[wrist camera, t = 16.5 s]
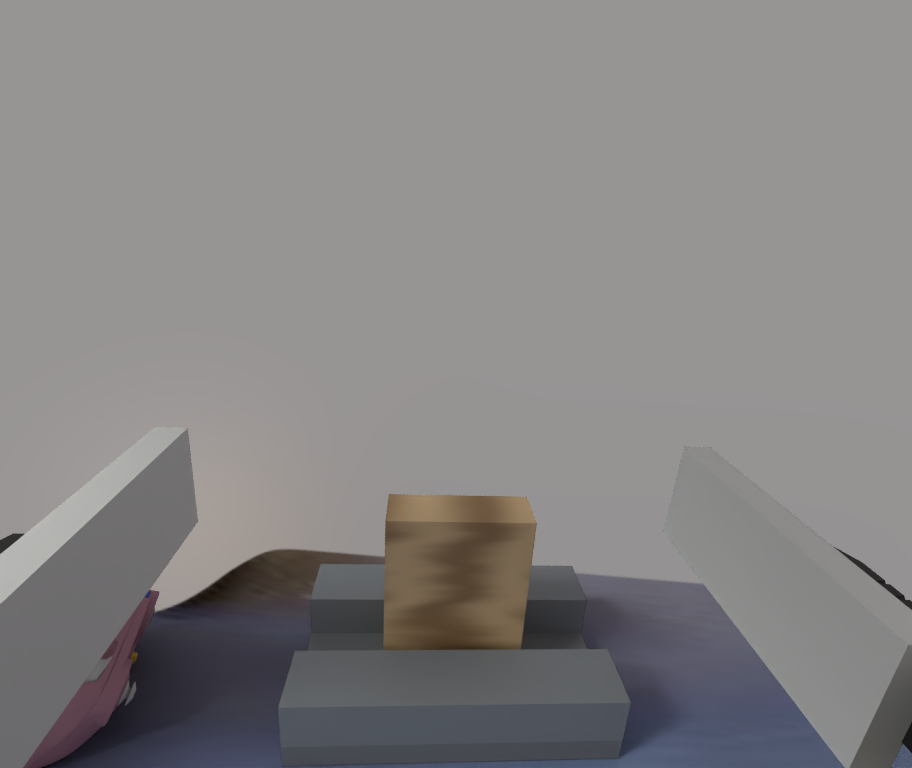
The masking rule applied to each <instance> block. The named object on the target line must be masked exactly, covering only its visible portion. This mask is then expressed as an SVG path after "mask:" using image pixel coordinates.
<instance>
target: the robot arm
mask: <svg viewBox="0 0 912 768" xmlns="http://www.w3.org/2000/svg"><path fill="white" fill-rule="evenodd" d="M197 522H198V518H197V509H196V500H195V490H194V482H193V472H192V463H191V454H190V445H189V437H188V428H175V427H155V428H154V429H152V430H151V431H150V432H149V433H147V434H146V435H145V436H144V437H143V438H141V439H140V440H139V441H138V442H137V443H135V444H134V445H133V446H132V447H130V448H129V449H128V450H127V451H126V452H124V453H123V454H122V455H121V456H119V458H117V459H116V460H115V461H113V462H112V463H111V464H110V465H108V466H107V467H106V468H105V469H104V470H102V471H101V472H100V473H99V474H98V475H96V476H95V477H94V478H93V479H91V480H90V481H89V482H88V483H87V484H85V485H84V486H83V487H82V488H81V489H79V490H78V491H77V492H76V493H74V494H73V495H72V496H71V497H69V498H68V499H67V500H66V501H65V502H63V503H62V504H61V505H60V506H59V507H57V508H56V509H55V510H54V511H52V512H51V513H50V514H49V515H48V516H46V517H45V518H44V519H43V520H42V521H40V522H39V523H38V524H37V525H35V526H34V527H33V528H32V529H30V530H29V531H28V532H27V533H26V534H12V535H10V536H8V537H6V538H4V539H2V540H0V768H23V767H24V766H25V764H26V763H27V761H28V760H29V759H30V757H31V756H32V754H33V753H34V752H35V750H36V749H37V747H38V746H39V745H40V743H41V742H42V740H43V739H44V738H45V736H46V735H47V733H48V732H49V730H50V729H51V728H52V726H53V725H54V723H55V722H56V721H57V719H58V718H59V716H60V715H61V714H62V712H63V711H64V709H65V708H66V707H67V705H68V704H69V702H70V701H71V699H72V698H73V697H74V695H75V694H76V692H77V691H78V690H79V688H80V687H81V685H82V684H83V683H84V681H85V680H86V678H87V677H88V676H89V674H90V673H91V671H92V670H93V669H94V667H95V666H96V664H97V663H98V661H99V660H100V659H101V657H102V656H103V654H104V653H105V652H106V650H107V649H108V647H109V646H110V645H111V643H112V642H113V640H114V639H115V638H116V636H117V635H118V633H119V632H120V630H121V629H122V628H123V626H124V625H125V623H126V622H127V621H128V619H129V618H130V616H131V615H132V614H133V612H134V611H135V609H136V608H137V607H138V605H139V604H140V602H141V601H142V600H143V598H144V597H145V595H146V594H147V592H148V591H149V590H150V588H151V587H152V585H153V584H154V582H155V581H156V580H157V578H158V577H159V576H160V574H161V573H162V571H163V570H164V569H165V567H166V566H167V564H168V563H169V561H170V560H171V558H172V557H173V556H174V554H175V553H176V552H177V550H178V549H179V547H180V546H181V545H182V543H183V542H184V540H185V539H186V538H187V536H188V535H189V533H190V532H191V531H192V529H193V527H194V526H195V525H196V523H197ZM663 531H664V533H665V534H666V535H667V537H668V538H669V539H670V541H671V542H672V543H673V545H674V546H675V547H676V548H677V550H678V551H679V552H680V554H681V555H682V556H683V557H684V559H685V560H686V561H687V563H688V564H689V565H690V567H691V568H692V569H693V571H694V572H695V573H696V574H697V576H698V577H699V578H700V580H701V581H702V582H703V584H704V585H705V586H706V588H707V589H708V590H709V592H710V593H711V594H712V595H713V597H714V598H715V599H716V601H717V602H718V603H719V605H720V606H721V607H722V608H723V610H724V611H725V612H726V614H727V615H728V616H729V618H730V619H731V620H732V622H733V623H734V624H735V625H736V627H737V628H738V629H739V631H740V632H741V633H742V635H743V636H744V637H745V638H746V640H747V641H748V642H749V644H750V645H751V646H752V648H753V649H754V650H755V652H756V653H757V654H758V655H759V657H760V658H761V659H762V661H763V662H764V663H765V665H766V666H767V667H768V669H769V670H770V671H771V672H772V674H773V675H774V676H775V678H776V679H777V680H778V682H779V683H780V684H781V685H782V687H783V688H784V689H785V691H786V692H787V693H788V695H789V696H790V697H791V699H792V700H793V701H794V702H795V704H796V705H797V706H798V708H799V709H800V710H801V712H802V713H803V714H804V715H805V717H806V718H807V719H808V721H809V722H810V723H811V725H812V726H813V727H814V729H815V730H816V731H817V732H818V734H819V735H820V736H821V738H822V739H823V740H824V742H825V743H826V744H827V745H828V747H829V748H830V749H831V751H832V752H833V753H834V755H835V756H836V757H837V759H838V760H839V761H840V762H841V764H842V765H843V766H844V768H891V766H892V764H893V762H894V760H895V758H896V756H897V755H898V753H899V751H900V749H901V747H902V745H903V744H904V745H905V746H906V747H907V748H908V749H909V750H910V752H911V753H912V602H911V601H910V600H905V598H904V595H903V594H901V593H900V592H899V591H897V590H896V589H895V588H894V587H892V586H891V585H889V584H886V583H885V580H884V579H882V578H881V577H880V576H879V575H877V574H876V573H875V572H873V571H872V570H871V569H870V568H868V567H867V566H866V565H865V564H863V563H862V562H860V561H859V560H857V559H855V558H853V557H851V556H849V555H848V554H846V553H844V552H842V551H841V550H839V549H837V548H835V547H833V546H832V545H830V544H829V543H828V542H827V541H826V540H824V539H823V538H822V537H821V536H819V535H818V534H817V533H816V532H814V531H813V530H812V529H811V528H809V527H808V526H807V525H805V523H803V522H802V521H801V520H799V519H798V518H797V517H796V516H795V515H793V514H792V513H791V512H789V511H788V510H787V509H786V508H785V507H783V506H782V505H781V504H780V503H779V502H777V501H776V500H775V499H773V498H772V497H771V496H770V495H769V494H767V493H766V492H765V491H764V490H762V489H761V488H760V487H759V486H757V485H756V484H755V483H754V482H752V481H751V480H750V479H749V478H748V477H746V476H745V475H744V474H742V473H741V472H740V471H739V470H738V469H736V468H735V467H734V466H733V465H731V464H730V463H729V462H728V461H726V460H725V459H724V458H723V457H722V456H720V455H719V454H718V453H717V452H715V451H714V450H713V449H712V448H710V447H684V449H683V453H682V458H681V461H680V465H679V470H678V474H677V478H676V482H675V486H674V490H673V494H672V498H671V502H670V506H669V510H668V514H667V518H666V522H665V526H664V530H663Z"/></svg>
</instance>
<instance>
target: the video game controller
mask: <svg viewBox="0 0 912 768" xmlns="http://www.w3.org/2000/svg"><path fill="white" fill-rule="evenodd" d="M158 596H159V592H158V591H152V590H149V591H148V592H147V594H146V595H145V597H144V598H143V600H142V601H141V602H140V604H139V605H138V607H137V608H136V609H135V611H134V612H133V614H132V615H131V616H130V618H129V619H128V621H127V622H126V623H125V625H124V626H123V628H122V629H121V630H120V632H119V633H118V635H117V636H116V638H115V639H114V640H113V642H112V643H111V645H110V646H109V647H108V649H107V650H106V652H105V653H104V654H103V656H102V657H101V659H100V660H99V661H98V663H97V664H96V666H95V667H94V669H93V670H92V671H91V673H90V674H89V676H88V677H87V678H86V680H85V681H84V683H83V684H82V685H81V687H80V688H79V690H78V691H77V692H76V694H75V695H74V697H73V698H72V699H71V701H70V702H69V704H68V705H67V707H66V708H65V709H64V711H63V712H62V714H61V715H60V716H59V718H58V719H57V721H56V722H55V723H54V725H53V726H52V728H51V729H50V730H49V732H48V733H47V735H46V736H45V738H44V739H43V740H42V742H41V743H40V745H39V746H38V747H37V749H36V750H35V752H34V753H33V754H32V756H31V757H30V759H29V760H28V761H27V763H26V764H25V766H24V767H23V768H40V767H44V766H47V765H49V764H52V763H54V762H56V761H58V760H60V759H62V758H64V757H66V756H68V755H69V754H71V753H72V752H73V751H75V750H76V749H78V748H79V747H80V746H81V745H82V744H83V743H85V742H86V741H87V740H88V739H89V738H90V737H91V736H92V735H93V734H95V733H96V732H97V731H98V730H99V729H100V728H101V727H104V726H105V725H106V724H107V722H108V720H109V718H110V716H111V714H112V712H113V711H114V710H115V709H116V707H117V706H118V705H120V704H121V702H122V701H123V700H124V699H126V701H125V704H124V706H126V705H127V704H128V703H129V702H130V700H132V698H133V696H134V694H135V691H136V682H134V683H133V685H132V687H131V688H130V686H129V677H130V668H131V665H132V664H133V663H134V662H135V661H136V659H137V654H138V653H137V652H134V650H135V648H136V645H137V643H138V642H139V640H140V638H141V636H142V634H143V631H144V629H145V628H147V627H148V625H149V623H150V621H151V618H152V616H153V613H154V611H155V609H154V607H155V604H156V601H157V598H158Z"/></svg>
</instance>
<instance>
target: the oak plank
mask: <svg viewBox="0 0 912 768" xmlns="http://www.w3.org/2000/svg"><path fill="white" fill-rule="evenodd" d="M536 525H537V523H536V520H535V517H534V515H533V512H532V509H531V507H530V504H529V502H528V499H527V497H505V496H453V495H452V496H451V495H399V494H398V495H397V494H389V498H388V506H387V514H386V528H385V530H386V531H385V583H384V639H383V650H521V643H522V635H523V627H524V619H525V611H526V603H527V596H528V588H529V580H530V572H531V564H532V556H533V548H534V540H535V532H536Z"/></svg>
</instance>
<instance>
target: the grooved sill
mask: <svg viewBox="0 0 912 768" xmlns="http://www.w3.org/2000/svg"><path fill="white" fill-rule="evenodd" d="M384 583H385V565H382V564H321V565H320V568H319V572H318V575H317V578H316V582H315V585H314V588H313V592H312V595H311V598H310V607H311V637H310V641H309V644H308V648H307V651H295V652H294V655H293V659H292V662H291V665H290V669H289V672H288V676H287V679H286V682H285V686H284V689H283V692H282V696H281V699H280V702H279V706H278V717H279V731H280V745H281V760H282V766H308V765H351V764H394V763H437V762H480V761H523V760H566V759H609V758H619V754H620V750H621V745H622V741H623V736H624V732H625V727H626V723H627V719H628V714H629V710H630V705H631V702H630V699H629V697H628V695H627V692H626V690H625V688H624V685H623V683H622V681H621V678H620V676H619V674H618V671H617V669H616V667H615V664H614V662H613V660H612V657H611V655H610V653H609V651H608V649H587V646H586V644H585V641H584V639H583V636H582V633H581V630H582V625H583V619H584V613H585V607H586V601H587V600H586V597H585V595H584V593H583V590H582V588H581V586H580V583H579V581H578V579H577V576H576V574H575V572H574V569H573V567H572V566H531V572H530V580H529V588H528V596H527V603H526V611H525V619H524V627H523V635H522V643H521V650H383V639H384Z"/></svg>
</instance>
